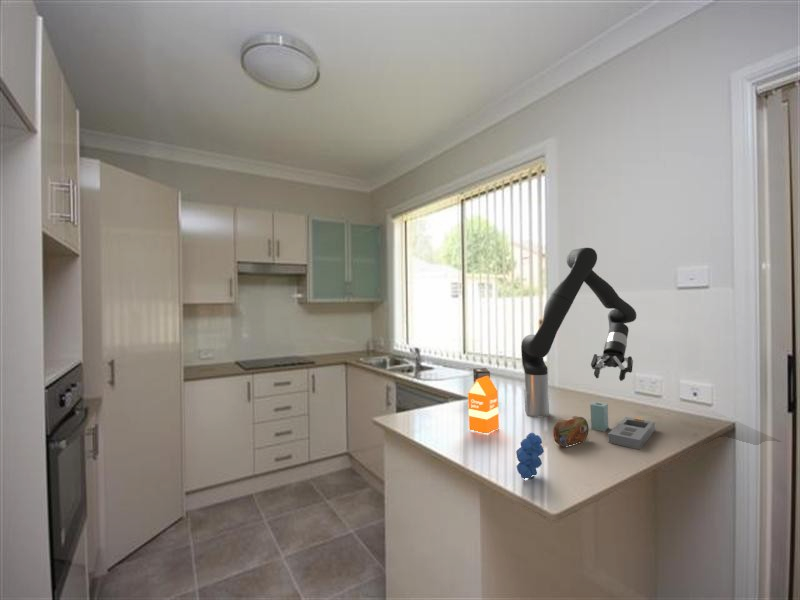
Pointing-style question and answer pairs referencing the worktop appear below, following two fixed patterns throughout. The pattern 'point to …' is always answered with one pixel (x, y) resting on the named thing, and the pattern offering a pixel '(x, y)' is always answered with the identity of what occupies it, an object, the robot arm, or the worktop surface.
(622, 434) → the power strip
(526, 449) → the grapes
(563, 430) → the tin
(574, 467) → the worktop surface
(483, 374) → the coffee box
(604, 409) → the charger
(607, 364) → the robot arm
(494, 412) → the orange juice
